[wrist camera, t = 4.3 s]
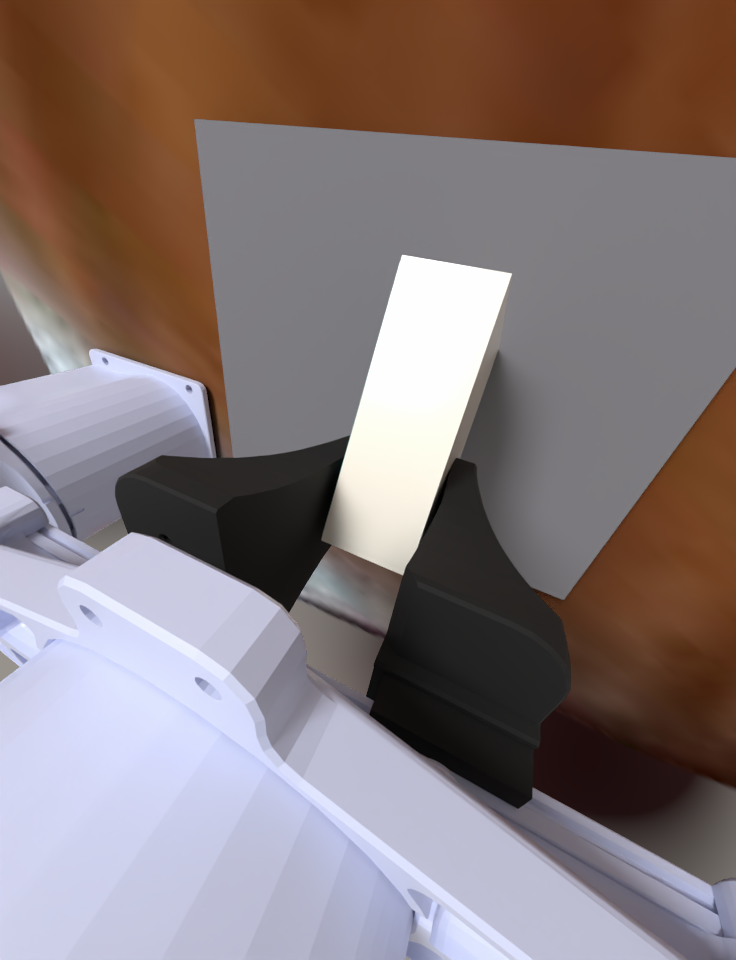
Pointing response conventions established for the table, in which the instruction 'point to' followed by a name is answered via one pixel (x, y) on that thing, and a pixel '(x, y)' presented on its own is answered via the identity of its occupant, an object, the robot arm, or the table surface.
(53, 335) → the table surface
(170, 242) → the table surface
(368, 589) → the table surface
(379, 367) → the tile
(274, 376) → the mat
